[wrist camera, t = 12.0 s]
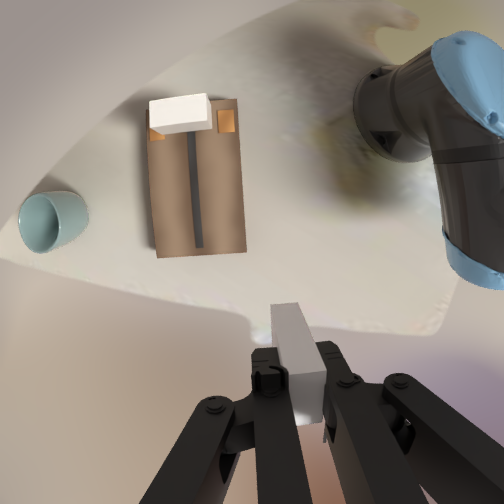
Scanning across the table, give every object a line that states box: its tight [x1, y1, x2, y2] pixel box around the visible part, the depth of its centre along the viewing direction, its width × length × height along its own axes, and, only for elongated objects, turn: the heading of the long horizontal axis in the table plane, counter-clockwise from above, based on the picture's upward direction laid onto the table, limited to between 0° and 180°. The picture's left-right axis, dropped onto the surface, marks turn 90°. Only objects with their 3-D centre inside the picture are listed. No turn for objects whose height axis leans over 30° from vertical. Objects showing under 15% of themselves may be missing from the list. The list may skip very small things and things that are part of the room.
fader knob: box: [149, 93, 212, 135], centre depth 31 cm, size 6×3×8 cm, turn 94°
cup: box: [18, 191, 89, 254], centre depth 36 cm, size 8×8×10 cm
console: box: [146, 99, 247, 258], centre depth 39 cm, size 12×20×3 cm, turn 4°
